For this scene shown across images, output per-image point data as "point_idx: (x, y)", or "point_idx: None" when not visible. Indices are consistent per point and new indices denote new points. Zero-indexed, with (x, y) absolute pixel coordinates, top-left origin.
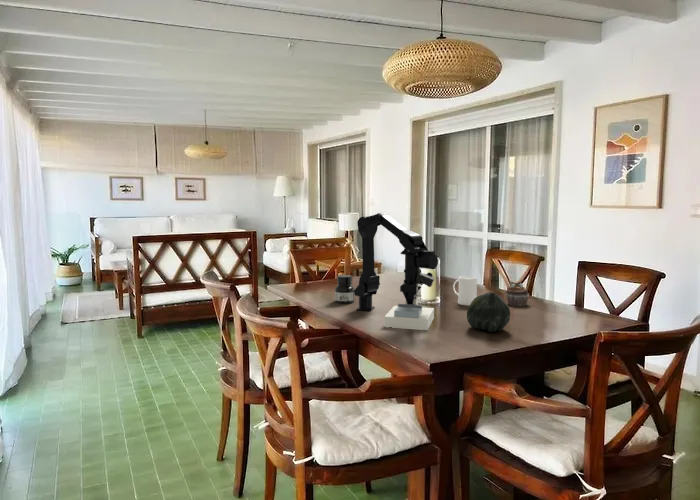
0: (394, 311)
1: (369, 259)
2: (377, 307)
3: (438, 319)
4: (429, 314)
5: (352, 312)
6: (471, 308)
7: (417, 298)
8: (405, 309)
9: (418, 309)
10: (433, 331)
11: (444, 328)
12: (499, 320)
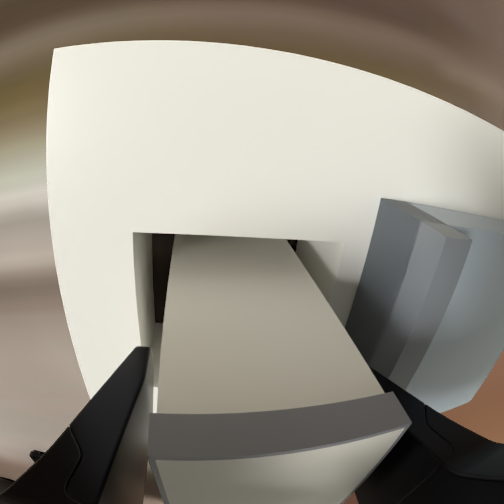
0: (467, 398)
1: None
2: (11, 438)
3: (146, 16)
4: (441, 111)
5: (151, 495)
6: None
7: (180, 391)
8: (463, 362)
9: (493, 255)
10: (500, 108)
11: (443, 16)
12: None
